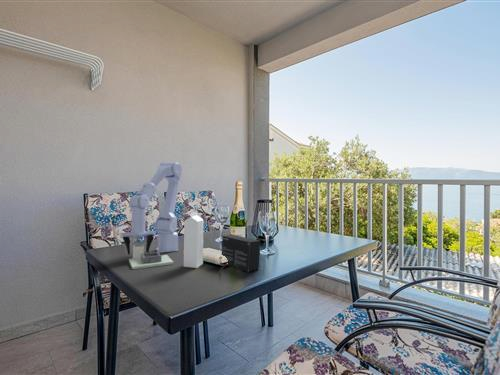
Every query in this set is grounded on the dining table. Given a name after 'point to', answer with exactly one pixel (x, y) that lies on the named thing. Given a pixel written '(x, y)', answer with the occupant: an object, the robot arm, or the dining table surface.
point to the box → (241, 252)
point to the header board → (150, 260)
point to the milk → (193, 241)
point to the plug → (138, 250)
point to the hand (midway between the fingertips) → (138, 253)
